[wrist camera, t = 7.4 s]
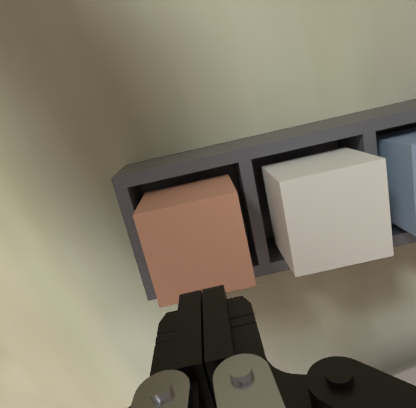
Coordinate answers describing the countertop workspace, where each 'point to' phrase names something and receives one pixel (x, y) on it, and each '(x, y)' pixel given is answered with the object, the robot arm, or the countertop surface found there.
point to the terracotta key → (194, 238)
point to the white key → (329, 209)
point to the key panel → (257, 174)
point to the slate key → (400, 175)
